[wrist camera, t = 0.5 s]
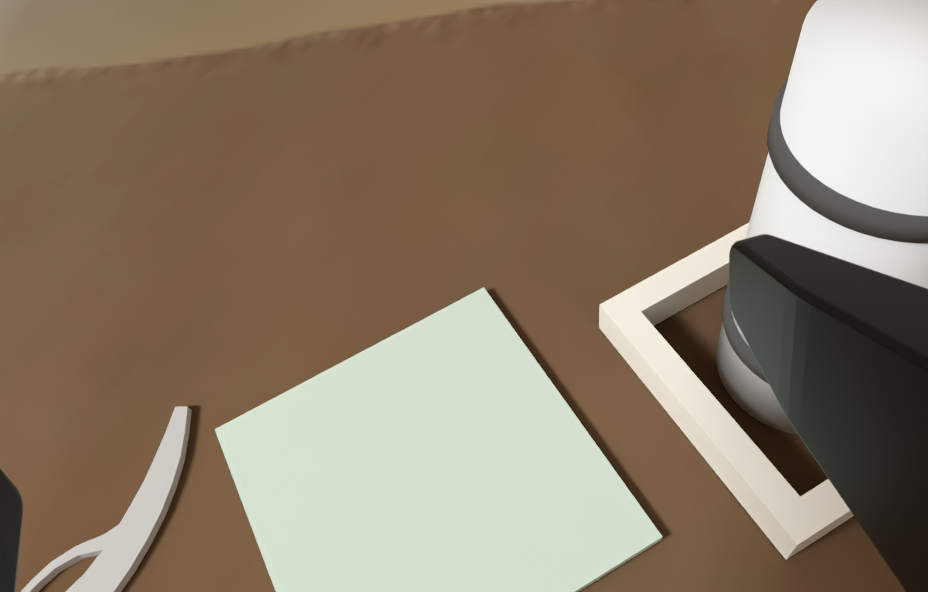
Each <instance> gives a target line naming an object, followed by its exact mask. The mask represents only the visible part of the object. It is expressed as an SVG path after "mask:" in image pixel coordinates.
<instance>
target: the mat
mask: <svg viewBox="0 0 928 592" xmlns="http://www.w3.org/2000/svg"><path fill="white" fill-rule="evenodd" d="M215 431H216V434H217V437H218V439H219V442H220V445H221V447H222V450H223V453H224V455H225V458H226V461H227V463H228V466H229V469H230V471H231V474H232V476H233V479H234V482H235V484H236V487H237V490H238V492H239V495H240V498H241V500H242V503H243V506H244V508H245V511H246V514H247V516H248V519H249V522H250V524H251V527H252V530H253V532H254V535H255V538H256V540H257V543H258V546H259V548H260V551H261V554H262V556H263V559H264V561H265V564H266V567H267V569H268V572H269V575H270V577H271V580H272V583H273V585H274V588H275V591H276V592H579V591H581V590H582V589H584V588H585V587H587V586H589V585H590V584H592V583H593V582H595V581H597V580H598V579H600V578H601V577H603V576H605V575H606V574H608V573H609V572H611V571H613V570H614V569H616V568H617V567H619V566H621V565H622V564H624V563H625V562H627V561H629V560H630V559H632V558H633V557H635V556H637V555H638V554H640V553H641V552H643V551H645V550H646V549H648V548H649V547H651V546H653V545H654V544H656V543H657V542H659V541H661V540H662V535H661V534H660V533H659V531H658V530H657V528H656V527H655V526H654V524H653V523H652V521H651V520H650V519H649V517H648V516H647V514H646V513H645V512H644V510H643V509H642V507H641V506H640V505H639V503H638V502H637V500H636V499H635V498H634V496H633V495H632V493H631V492H630V491H629V489H628V488H627V487H626V485H625V484H624V482H623V481H622V480H621V478H620V477H619V475H618V474H617V473H616V471H615V470H614V468H613V467H612V466H611V464H610V463H609V461H608V460H607V459H606V457H605V456H604V454H603V453H602V452H601V450H600V449H599V447H598V446H597V445H596V443H595V442H594V440H593V439H592V438H591V436H590V435H589V433H588V432H587V431H586V429H585V428H584V426H583V425H582V424H581V422H580V421H579V420H578V418H577V417H576V415H575V414H574V413H573V411H572V410H571V408H570V407H569V406H568V404H567V403H566V401H565V400H564V399H563V397H562V396H561V394H560V393H559V392H558V390H557V389H556V387H555V386H554V385H553V383H552V382H551V380H550V379H549V378H548V376H547V375H546V373H545V372H544V371H543V369H542V368H541V366H540V365H539V364H538V362H537V361H536V360H535V358H534V357H533V355H532V354H531V353H530V351H529V350H528V348H527V347H526V346H525V344H524V343H523V341H522V340H521V339H520V337H519V336H518V334H517V333H516V332H515V330H514V329H513V327H512V326H511V325H510V323H509V322H508V320H507V319H506V318H505V316H504V315H503V313H502V312H501V311H500V309H499V308H498V306H497V305H496V304H495V302H494V301H493V300H492V298H491V297H490V295H489V294H488V293H487V291H486V290H485V288H484V287H483V288H482V289H480V290H478V291H476V292H474V293H472V294H470V295H468V296H466V297H465V298H463V299H461V300H459V301H457V302H455V303H453V304H451V305H449V306H447V307H446V308H444V309H442V310H440V311H438V312H436V313H434V314H432V315H430V316H429V317H427V318H425V319H423V320H421V321H419V322H417V323H415V324H413V325H411V326H410V327H408V328H406V329H404V330H402V331H400V332H398V333H396V334H394V335H393V336H391V337H389V338H387V339H385V340H383V341H381V342H379V343H377V344H375V345H374V346H372V347H370V348H368V349H366V350H364V351H362V352H360V353H358V354H357V355H355V356H353V357H351V358H349V359H347V360H345V361H343V362H341V363H339V364H338V365H336V366H334V367H332V368H330V369H328V370H326V371H324V372H322V373H321V374H319V375H317V376H315V377H313V378H311V379H309V380H307V381H305V382H303V383H302V384H300V385H298V386H296V387H294V388H292V389H290V390H288V391H286V392H285V393H283V394H281V395H279V396H277V397H275V398H273V399H271V400H269V401H267V402H266V403H264V404H262V405H260V406H258V407H256V408H254V409H252V410H250V411H249V412H247V413H245V414H243V415H241V416H239V417H237V418H235V419H233V420H231V421H230V422H228V423H226V424H224V425H222V426H220V427H218V428H216V429H215Z"/></svg>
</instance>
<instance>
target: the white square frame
mask: <svg viewBox="0 0 928 592" xmlns="http://www.w3.org/2000/svg"><path fill="white" fill-rule="evenodd" d="M749 223H750V222H749ZM749 223H747V224H746V225H744V226H742V227H740V228H738V229H737V230H735V231H733V232H731V233H729V234H727V235H726V236H724V237H722V238H720V239H718V240H716V241H715V242H713V243H711V244H709V245H707V246H706V247H704V248H702V249H700V250H698V251H696V252H695V253H693V254H691V255H689V256H687V257H686V258H684V259H682V260H680V261H678V262H676V263H675V264H673V265H671V266H669V267H667V268H666V269H664V270H662V271H660V272H658V273H656V274H655V275H653V276H651V277H649V278H647V279H646V280H644V281H642V282H640V283H638V284H636V285H635V286H633V287H631V288H629V289H627V290H625V291H624V292H622V293H620V294H618V295H616V296H615V297H613V298H611V299H609V300H607V301H605V302H604V303H602V304H600V311H599V328H600V329H601V331H602V332H603V333H604V334H605V336H606V337H607V338H608V339H609V341H610V342H611V343H612V344H613V346H614V347H615V348H616V349H617V350H618V352H619V353H620V354H621V355H622V357H623V358H624V359H625V360H626V362H627V363H628V364H629V365H630V367H631V368H632V369H633V370H634V372H635V373H636V374H637V375H638V377H639V378H640V379H641V380H642V382H643V383H644V384H645V385H646V387H647V388H648V389H649V390H650V392H651V393H652V394H653V395H654V396H655V398H656V399H657V400H658V401H659V403H660V404H661V405H662V406H663V408H664V409H665V410H666V411H667V413H668V414H669V415H670V416H671V418H672V419H673V420H674V421H675V423H676V424H677V425H678V426H679V428H680V429H681V430H682V431H683V433H684V434H685V435H686V436H687V438H688V439H689V440H690V441H691V443H692V444H693V445H694V446H695V447H696V449H697V450H698V451H699V452H700V454H701V455H702V456H703V457H704V459H705V460H706V461H707V462H708V464H709V465H710V466H711V467H712V469H713V470H714V471H715V472H716V474H717V475H718V476H719V477H720V479H721V480H722V481H723V482H724V484H725V485H726V486H727V487H728V489H729V490H730V491H731V492H732V493H733V495H734V496H735V497H736V498H737V500H738V501H739V502H740V503H741V505H742V506H743V507H744V508H745V510H746V511H747V512H748V513H749V515H750V516H751V517H752V518H753V520H754V521H755V522H756V523H757V525H758V526H759V527H760V528H761V530H762V531H763V532H764V533H765V535H766V536H767V537H768V538H769V540H770V541H771V542H772V543H773V544H774V546H775V547H776V548H777V549H778V551H779V552H780V553H781V554H782V556H783V557H784V558H785V559H786V560H787V559H788V558H790V557H791V556H793V555H795V554H796V553H798V552H799V551H801V550H802V549H804V548H805V547H807V546H808V545H810V544H811V543H813V542H814V541H816V540H817V539H819V538H821V537H822V536H824V535H825V534H827V533H828V532H830V531H831V530H833V529H834V528H836V527H837V526H839V525H840V524H842V523H844V522H845V521H847V520H848V519H850V518H851V517H853V516H854V515H853V514H852V512H851V511H850V509H849V508H848V506H847V505H846V504H845V502H844V501H843V499H842V498H841V496H840V495H839V493H838V492H837V490H836V489H835V488H834V486H833V485H832V483H831V482H830V480H829V479H827V480H826V481H824V482H822V483H821V484H819V485H818V486H816V487H815V488H813V489H812V490H810V491H808V492H807V493H805V494H804V495H802V496H801V497H800V496H799V495H798V493H797V492H796V491H795V490H794V489H793V488H792V486H791V485H790V484H789V483H788V482H787V481H786V479H785V478H784V477H783V476H782V475H781V474H780V472H779V471H778V470H777V469H776V468H775V467H774V466H773V464H772V463H771V462H770V461H769V460H768V459H767V457H766V456H765V455H764V454H763V453H762V452H761V450H760V449H759V448H758V447H757V446H756V445H755V443H754V442H753V441H752V440H751V439H750V438H749V436H748V435H747V434H746V433H745V432H744V431H743V429H742V428H741V427H740V426H739V425H738V424H737V423H736V421H735V420H734V419H733V418H732V417H731V416H730V414H729V413H728V412H727V411H726V410H725V409H724V407H723V406H722V405H721V404H720V403H719V402H718V400H717V399H716V398H715V397H714V396H713V395H712V393H711V392H710V391H709V390H708V389H707V388H706V386H705V385H704V384H703V383H702V382H701V381H700V380H699V378H698V377H697V376H696V375H695V374H694V373H693V371H692V370H691V369H690V368H689V367H688V366H687V364H686V363H685V362H684V361H683V360H682V359H681V357H680V356H679V355H678V354H677V353H676V352H675V350H674V349H673V348H672V347H671V346H670V345H669V343H668V342H667V341H666V340H665V339H664V338H663V337H662V335H661V334H660V333H659V332H658V331H657V330H656V328H655V327H654V325H656V324H658V323H660V322H661V321H663V320H665V319H667V318H669V317H670V316H672V315H674V314H676V313H677V312H679V311H681V310H683V309H685V308H686V307H688V306H690V305H692V304H693V303H695V302H697V301H699V300H701V299H702V298H704V297H706V296H708V295H709V294H711V293H713V292H715V291H716V290H718V289H720V288H722V287H724V286H725V285H727V284H728V282H729V253H730V249H731V246H732V245H733V244H734V243H735V242H736V241H739V240H743V239H745V238H746V234H747V230H748V227H749Z"/></svg>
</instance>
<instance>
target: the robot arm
mask: <svg viewBox="0 0 928 592" xmlns="http://www.w3.org/2000/svg"><path fill="white" fill-rule="evenodd" d="M729 302H730V307H731V311H732V313H733V316H734V318H735V320H736V322H737V324H738V326H739V328H740V330H741V332H742V333H743V335H744V337H745V339H746V341H747V343H748V345H749V347H750V349H751V351H752V353H753V354H754V356H755V358H756V360H757V362H758V364H759V366H760V368H761V370H762V372H763V374H764V375H765V377H766V379H767V381H768V383H769V385H770V387H771V389H772V391H773V393H774V395H775V396H776V398H777V400H778V402H779V404H780V406H781V408H782V409H783V411H784V413H785V415H786V416H787V418H788V420H789V421H790V423H791V424H792V426H793V427H794V429H795V431H796V432H797V434H798V435H799V437H800V438H801V440H802V441H803V442H804V444H805V445H806V447H807V448H808V450H809V451H810V453H811V454H812V456H813V457H814V458H815V460H816V461H817V463H818V464H819V466H820V467H821V469H822V470H823V472H824V473H825V474H826V476H827V477H828V479H829V480H830V482H831V483H832V485H833V486H834V488H835V489H836V490H837V492H838V493H839V495H840V496H841V498H842V499H843V501H844V502H845V504H846V505H847V506H848V508H849V509H850V511H851V512H852V514H853V515H854V517H855V518H856V520H857V521H858V522H859V524H860V525H861V527H862V528H863V530H864V531H865V533H866V534H867V536H868V537H869V538H870V540H871V541H872V543H873V544H874V546H875V547H876V549H877V550H878V552H879V553H880V554H881V556H882V557H883V559H884V560H885V562H886V563H887V565H888V566H889V568H890V569H891V570H892V572H893V573H894V575H895V576H896V578H897V579H898V581H899V582H900V584H901V585H902V586H903V588H904V589H905V591H906V592H928V289H927V288H924V287H921V286H918V285H916V284H913V283H910V282H907V281H904V280H901V279H898V278H895V277H892V276H889V275H886V274H883V273H880V272H877V271H875V270H872V269H869V268H866V267H863V266H860V265H857V264H854V263H851V262H848V261H845V260H842V259H839V258H837V257H834V256H831V255H828V254H825V253H822V252H819V251H816V250H813V249H810V248H807V247H804V246H801V245H799V244H796V243H793V242H790V241H787V240H784V239H781V238H778V237H775V236H772V235H768V234H762V235H758V236H754V237H750V238H747V239H743V240H739V241H736V242H735V243H734V244H733V245H732V246H731V249H730V253H729ZM22 519H23V502H22V498H21V495H20V493H19V491H18V489H17V488H16V487H15V486H14V484H13V483H12V482H11V481H10V480H9V478H8V477H7V476H6V475H5V474H4V473H3V471H2V470H1V469H0V592H15V589H16V579H17V569H18V559H19V549H20V539H21V529H22Z"/></svg>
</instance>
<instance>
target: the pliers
mask: <svg viewBox="0 0 928 592" xmlns="http://www.w3.org/2000/svg"><path fill="white" fill-rule="evenodd" d="M191 413H192V411H191V410H190V408H189V407H175V409H174V412H173V414H172V417H171V420H170V422H169V425H168V428H167V430H166V433H165V435H164V437H163V440H162V442H161V444H160V446H159V449H158V451H157V453H156V456H155V458H154V460H153V462H152V465H151V467H150V469H149V471H148V473H147V476H146V478H145V480H144V482H143V484H142V485H141V487H140V489H139V491H138V493H137V495H136V496H135V498H134V500H133V502H132V503H131V505H130V507H129V509H128V510H127V512H126V514H125V516H124V517H123V519H122V521H121V522H120V524H119V525H117V526H116V527H114V528H113V529H111V530H110V531H108V532H107V533H105V534H104V535H102V536H99V537H97V538H94V539H92V540H89V541H87V542H84V543H82V544H80V545H77V546H75V547H74V548H72V549H71V550H69V551H67V552H66V553H64V554H63V555H61V556H60V557H58V558H56V559H55V560H53V561H52V562H50V563H49V564H48V565H47V566H46V567H45V568H44V569H43V570H42V571H41V572H40V573H39V574H38V575H36V576H35V577H34V578H33V579H32V580H31V581H30V582H29V583H28V584H27V585H26V586H25V588H24V589H23V590H22V591H21V592H39V591H40V590H41V589H42V588H43V587H44V586H45V585H46V584H47V583H49V582H50V581H51V580H52V579H53V578H54V577H55V576H56V575H58V574H59V573H60V572H61V571H63V570H64V569H66V568H68V567H70V566H71V565H73V564H75V563H77V562H78V561H80V560H82V559H83V558H88V557H92V556H97V555H99V556H98V557H97V558H96V559H95V561H94V562H93V563H92V565H91V566H90V567H89V568H88V570H87V571H86V572H85V574H84V575H83V576H82V577H81V578H80V579H78V580H77V581H76V582H75V583H74V584H73V585H72V586H71V587H70V588H69V589H68V590H67V591H66V592H121V591H122V590H123V589H124V587H125V586H126V584H127V583H128V581H129V580H130V578H131V577H132V576H133V574H134V573H135V571H136V569H137V568H138V566H139V564H140V563H141V561H142V559H143V557H144V556H145V554H146V552H147V551H148V549H149V547H150V545H151V544H152V542H153V540H154V538H155V536H156V534H157V532H158V530H159V528H160V526H161V524H162V522H163V520H164V518H165V516H166V514H167V511H168V509H169V506H170V503H171V501H172V498H173V496H174V493H175V491H176V488H177V485H178V482H179V478H180V475H181V471H182V468H183V465H184V461H185V456H186V451H187V445H188V439H189V432H190V423H191Z"/></svg>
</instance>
